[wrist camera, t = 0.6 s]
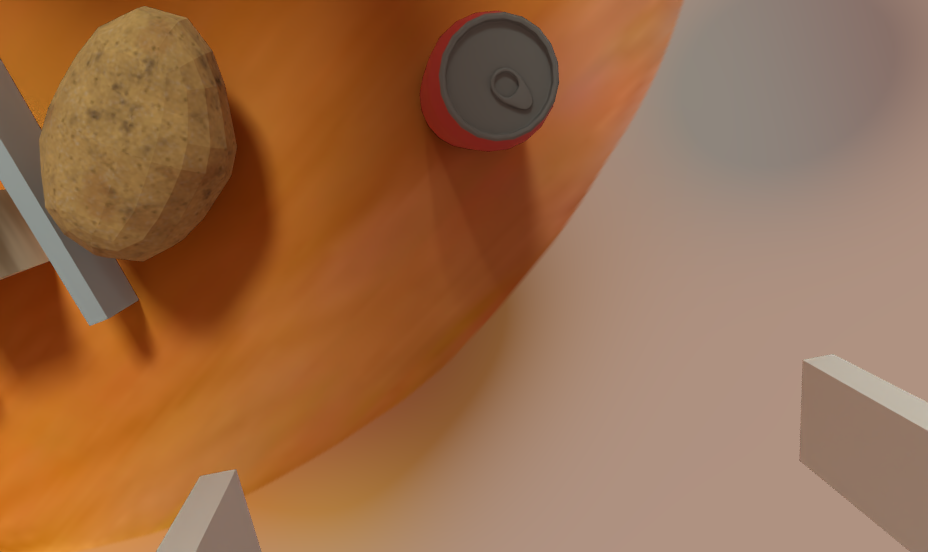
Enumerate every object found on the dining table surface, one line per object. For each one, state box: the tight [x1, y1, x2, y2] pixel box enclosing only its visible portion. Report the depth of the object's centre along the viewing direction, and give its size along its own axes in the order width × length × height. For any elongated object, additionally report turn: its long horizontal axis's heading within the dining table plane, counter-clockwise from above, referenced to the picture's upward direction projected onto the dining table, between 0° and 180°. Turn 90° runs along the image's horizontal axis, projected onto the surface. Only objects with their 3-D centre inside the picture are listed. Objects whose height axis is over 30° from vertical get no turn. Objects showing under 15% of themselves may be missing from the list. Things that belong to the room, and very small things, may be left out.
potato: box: [39, 6, 237, 262], centre depth 31 cm, size 10×14×8 cm
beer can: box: [420, 11, 559, 151], centre depth 30 cm, size 7×7×12 cm
